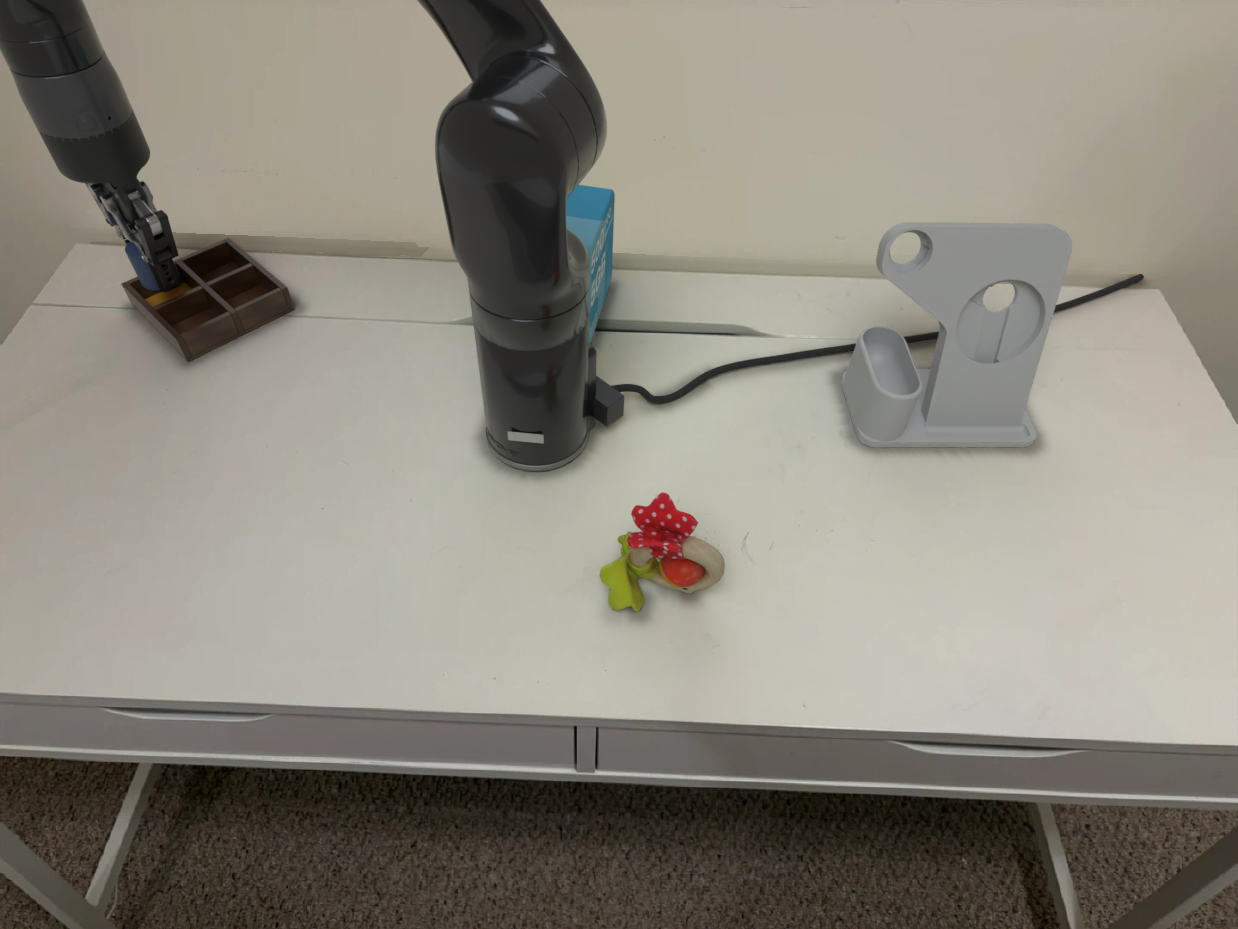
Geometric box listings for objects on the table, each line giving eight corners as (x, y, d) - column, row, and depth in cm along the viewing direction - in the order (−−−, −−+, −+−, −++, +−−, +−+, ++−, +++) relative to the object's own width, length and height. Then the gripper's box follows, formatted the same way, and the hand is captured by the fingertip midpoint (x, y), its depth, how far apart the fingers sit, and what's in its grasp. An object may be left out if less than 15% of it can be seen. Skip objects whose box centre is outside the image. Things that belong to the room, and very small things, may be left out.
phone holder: (856, 447, 77) (916, 291, 63) (834, 372, 83) (884, 215, 69) (1038, 447, 77) (1136, 293, 64) (1002, 372, 84) (1084, 218, 70)
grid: (237, 259, 91) (228, 237, 89) (294, 309, 86) (287, 287, 84) (132, 305, 86) (120, 283, 83) (187, 362, 81) (176, 339, 78)
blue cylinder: (169, 263, 85) (154, 230, 82) (186, 279, 83) (171, 246, 80) (134, 278, 83) (117, 244, 80) (151, 295, 81) (135, 261, 78)
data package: (588, 352, 84) (589, 252, 74) (545, 345, 84) (541, 245, 75) (611, 280, 91) (615, 182, 82) (572, 274, 92) (571, 176, 83)
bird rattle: (686, 569, 70) (589, 535, 67) (759, 501, 62) (652, 460, 59) (683, 635, 66) (580, 602, 63) (761, 572, 58) (646, 531, 55)
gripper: (165, 128, 69) (231, 294, 82) (90, 69, 75) (163, 232, 88) (73, 160, 65) (158, 328, 78) (3, 95, 71) (92, 261, 84)
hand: (160, 277), depth 83 cm, fingers closed on blue cylinder, 3 cm apart
